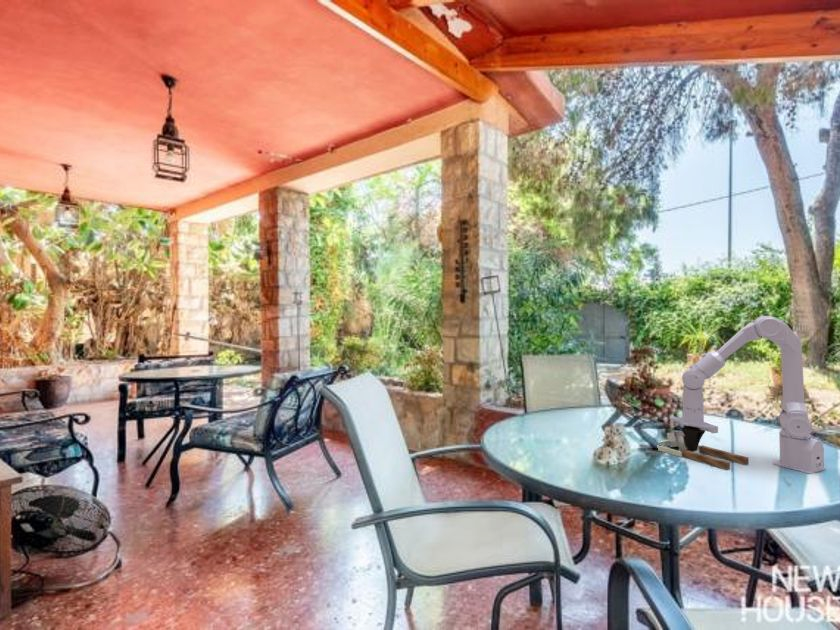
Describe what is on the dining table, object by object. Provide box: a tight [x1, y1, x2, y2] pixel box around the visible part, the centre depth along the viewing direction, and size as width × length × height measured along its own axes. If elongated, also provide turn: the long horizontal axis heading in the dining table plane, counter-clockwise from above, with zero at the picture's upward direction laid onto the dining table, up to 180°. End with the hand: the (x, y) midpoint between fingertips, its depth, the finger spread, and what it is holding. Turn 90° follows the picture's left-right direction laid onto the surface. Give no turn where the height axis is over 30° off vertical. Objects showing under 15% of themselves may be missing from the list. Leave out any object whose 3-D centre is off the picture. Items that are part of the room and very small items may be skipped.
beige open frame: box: [657, 439, 701, 458], centre depth 151 cm, size 11×12×2 cm
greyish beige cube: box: [666, 431, 685, 448], centre depth 154 cm, size 4×4×4 cm
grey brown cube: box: [677, 436, 699, 452], centre depth 149 cm, size 4×4×4 cm
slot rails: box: [680, 445, 750, 471], centre depth 140 cm, size 14×10×2 cm
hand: (693, 450), depth 146 cm, fingers closed, pressing on grey brown cube
